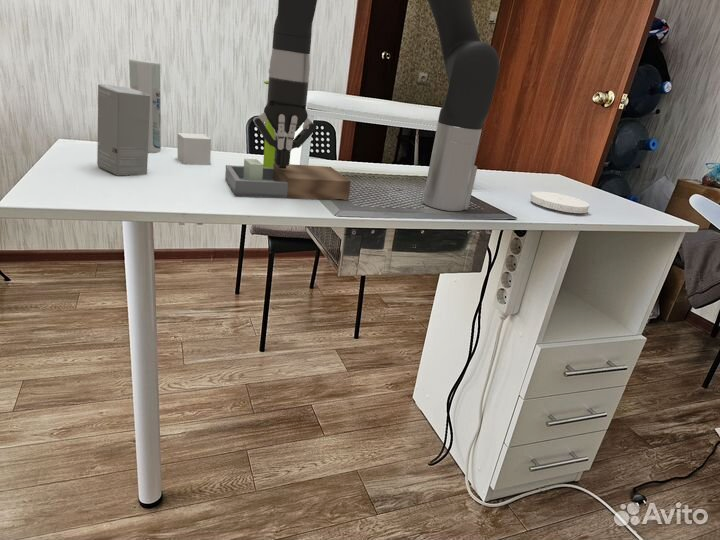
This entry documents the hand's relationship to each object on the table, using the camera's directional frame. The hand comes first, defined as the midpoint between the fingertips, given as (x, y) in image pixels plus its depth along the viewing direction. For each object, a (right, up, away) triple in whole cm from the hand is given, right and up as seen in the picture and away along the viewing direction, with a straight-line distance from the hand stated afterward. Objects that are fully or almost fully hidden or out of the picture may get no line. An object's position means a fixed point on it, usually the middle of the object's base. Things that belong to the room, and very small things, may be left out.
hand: (281, 167), depth 102 cm
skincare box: (-31, -1, -2) cm, 31 cm away
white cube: (-23, +4, +14) cm, 27 cm away
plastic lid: (+66, -6, +24) cm, 70 cm away
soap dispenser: (-5, +3, +19) cm, 20 cm away
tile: (-4, -2, -2) cm, 5 cm away
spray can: (-35, +8, +19) cm, 41 cm away
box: (-5, -4, 0) cm, 7 cm away
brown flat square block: (+5, -4, +4) cm, 8 cm away
